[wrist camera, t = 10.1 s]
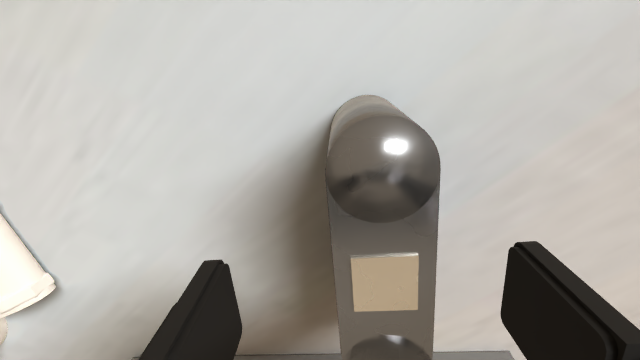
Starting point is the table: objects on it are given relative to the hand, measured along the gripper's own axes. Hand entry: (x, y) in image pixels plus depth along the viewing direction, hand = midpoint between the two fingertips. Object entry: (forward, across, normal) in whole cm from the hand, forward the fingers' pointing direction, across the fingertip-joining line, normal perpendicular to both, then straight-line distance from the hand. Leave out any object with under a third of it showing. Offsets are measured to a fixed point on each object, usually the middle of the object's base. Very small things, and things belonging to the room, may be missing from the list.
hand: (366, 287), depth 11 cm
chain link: (+6, -1, 0) cm, 6 cm away
